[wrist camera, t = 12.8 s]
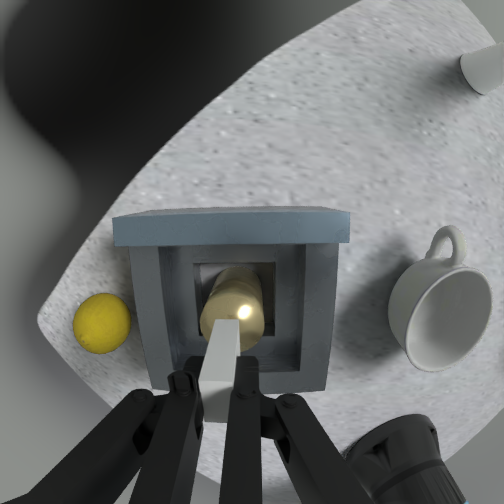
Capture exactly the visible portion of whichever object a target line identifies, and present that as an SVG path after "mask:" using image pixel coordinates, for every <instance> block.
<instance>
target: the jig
mask: <svg viewBox="0 0 504 504" xmlns="http://www.w3.org/2000/svg"><path fill="white" fill-rule="evenodd" d="M112 221H113V235H114V247H115V246H129V257H130V266H131V275H132V283H133V291H134V298H135V305H136V311H137V317H138V323H139V329H140V334H141V340H142V345H143V350H144V355H145V359H146V364H147V369H148V373H149V377H150V381H151V386H152V389H157V390H167V391H170V389H169V384H168V379H167V377H168V375H169V374H170V373H172V372H175V371H178V370H183V368H184V365H185V362H186V360H187V359H188V358H190V357H191V356H205V355H206V351H207V348H208V344H209V343H208V342H207V340H206V339H205V338H204V336H203V334H202V332H201V328H200V317H201V314H202V311H203V305H202V291H201V277H200V263H241V262H273V322H272V323H264V332H263V335H262V337H261V339H260V340H259V341H258V343H257V344H256V345H255V346H253V347H252V348H250V349H248V350H246V351H243V352H240V356H255V357H256V358H257V360H258V362H259V389H260V392H261V393H262V394H283V393H301V392H314V391H325V386H326V379H327V372H328V365H329V357H330V349H331V340H332V331H333V321H334V311H335V299H336V286H337V270H338V250H339V243H349V235H350V212H345V211H340V210H335V209H331V208H326V207H315V206H262V207H213V208H186V209H164V210H150V211H145V212H140V213H134V214H129V215H124V216H119V217H115V218H112Z"/></svg>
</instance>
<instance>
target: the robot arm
mask: <svg viewBox="0 0 504 504" xmlns="http://www.w3.org/2000/svg"><path fill="white" fill-rule="evenodd" d="M167 379H168V384H169V389H170V392H169V393H168V394H165V395H158V396H153V393H152V392H151V391H149V390H147V389H136V390H133V391H131V392H130V393H128V394H127V395H126V396H125V397H124V398H123V400H122V401H121V402H120V403H119V404H118V405H117V406H116V407H115V408H114V409H113V410H112V411H111V412H110V413H109V414H108V415H107V416H106V417H105V418H104V419H103V420H102V421H101V422H100V423H99V424H98V425H97V426H96V427H95V428H94V429H93V430H92V431H91V432H90V433H89V434H88V435H87V436H86V437H85V438H84V439H83V440H82V441H81V442H79V444H78V445H77V446H76V447H75V448H73V450H71V451H70V453H68V455H66V456H65V457H64V458H63V459H62V460H61V461H60V462H59V463H58V464H57V465H56V466H55V467H54V468H53V469H52V470H51V471H50V472H49V473H48V474H47V475H46V476H45V477H44V478H43V479H42V480H41V481H40V482H39V483H38V484H37V485H36V486H35V487H34V488H33V489H31V491H29V493H27V494H25V495H22V496H20V497H17V498H15V499H12V500H10V501H7V502H4V503H2V504H114V503H115V501H116V500H117V499H118V497H119V496H120V495H121V493H122V492H123V490H124V489H125V488H126V487H127V485H128V484H129V483H130V481H131V480H132V479H133V477H134V476H135V475H136V473H137V472H138V471H139V469H140V468H141V470H140V472H139V475H138V478H137V481H136V483H135V486H134V489H133V492H132V495H131V498H130V501H129V504H190V500H191V495H192V488H193V484H194V478H195V473H196V467H197V462H198V456H199V451H200V445H201V440H202V435H203V417H204V420H205V422H217V423H227V430H226V440H225V449H224V459H223V468H222V477H221V487H220V497H219V504H262V465H261V437H264V438H269V439H273V440H274V443H275V446H276V448H277V450H278V452H279V455H280V457H281V459H282V461H283V464H284V466H285V468H286V470H287V472H288V475H289V477H290V479H291V481H292V483H293V485H294V487H295V490H296V492H297V494H298V496H299V498H300V500H301V502H302V504H469V502H468V501H466V499H465V498H464V496H463V494H462V492H461V491H460V489H459V487H458V486H457V484H456V482H455V481H454V479H453V477H452V476H451V474H450V473H449V471H448V469H447V467H446V466H445V464H444V462H443V461H442V459H441V455H440V449H439V442H438V436H437V431H436V428H435V426H434V425H433V423H432V422H431V420H430V419H429V418H428V417H427V416H425V415H421V414H412V415H407V416H403V417H399V418H397V419H394V420H391V421H389V422H387V423H385V424H383V425H381V426H379V427H378V428H376V429H374V430H373V431H371V432H370V433H368V434H367V435H366V436H364V437H363V438H362V439H361V440H360V441H359V442H358V443H357V444H356V445H355V446H354V447H353V448H352V449H351V451H350V452H349V454H348V457H347V461H346V462H345V460H344V459H343V457H342V456H341V455H340V453H339V452H338V450H337V449H336V447H335V446H334V444H333V443H332V441H331V440H330V438H329V436H328V435H327V433H326V432H325V430H324V429H323V427H322V426H321V424H320V423H319V421H318V420H317V418H316V417H315V415H314V414H313V412H312V410H311V409H310V407H309V406H308V404H307V403H306V401H305V399H304V398H303V397H302V396H300V395H297V394H293V393H287V394H283V395H280V396H279V397H278V398H277V399H273V398H269V397H266V396H264V395H263V394H262V393H261V392H260V389H259V362H258V360H257V358H256V357H255V356H240V335H239V319H215V323H214V326H213V330H212V333H211V337H210V340H209V344H208V348H207V351H206V355H205V356H191V357H190V358H188V359H187V360H186V362H185V365H184V368H183V370H178V371H175V372H172V373H170V374H169V375H168V377H167Z"/></svg>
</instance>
